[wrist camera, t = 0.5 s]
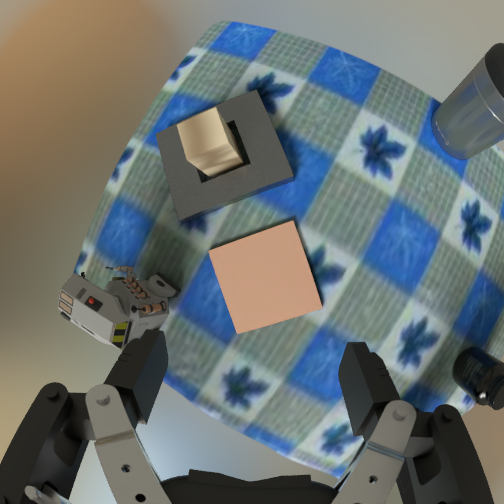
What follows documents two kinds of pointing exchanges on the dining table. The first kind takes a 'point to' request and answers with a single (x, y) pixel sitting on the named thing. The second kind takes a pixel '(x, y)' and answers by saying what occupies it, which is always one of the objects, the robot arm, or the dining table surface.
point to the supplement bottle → (481, 377)
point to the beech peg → (210, 143)
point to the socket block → (237, 181)
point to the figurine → (117, 305)
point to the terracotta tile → (265, 278)
